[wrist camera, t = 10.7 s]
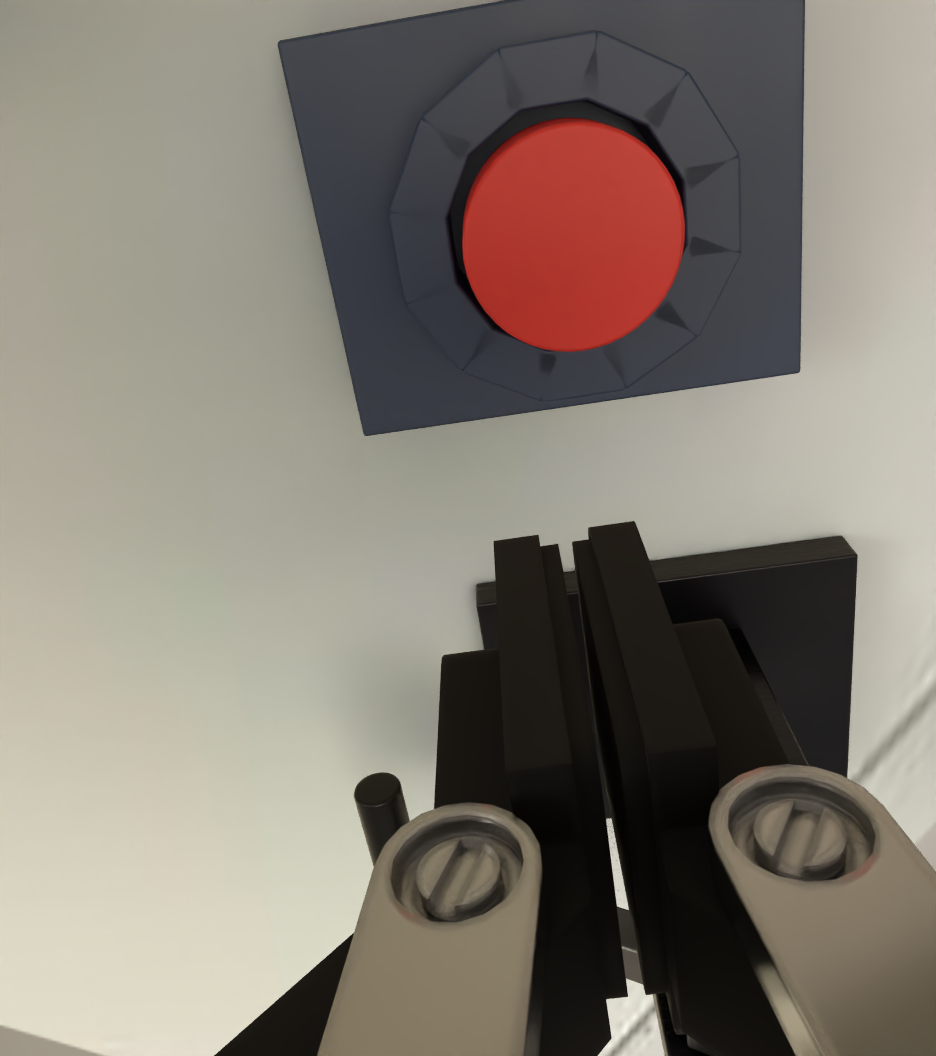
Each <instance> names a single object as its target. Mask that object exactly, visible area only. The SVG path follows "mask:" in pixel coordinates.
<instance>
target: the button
mask: <svg viewBox="0 0 936 1056" xmlns="http://www.w3.org/2000/svg"><path fill="white" fill-rule="evenodd" d="M684 241H685V222H684V213H683V207H682V203H681V199H680V195H679V193H678V190H677V187H676V185H675V182H674V180H673V179H672V177H671V175H670V173H669V171H668V170H667V168H666V167H665V165H664V164H663V163H662V161H661V160H660V159H659V157H658V156H657V155H656V154H655V153H654V152H653V151H652V150H651V149H650V148H649V147H648V146H647V145H645V144H644V143H642V142H641V141H640V140H638V139H637V138H636V137H634V136H632V135H630V134H628V133H626V132H625V131H623V130H621V129H618V128H615V127H612V126H610V125H607V124H604V123H601V122H598V121H595V120H590V119H584V118H558V119H552V120H548V121H544V122H540V123H537V124H535V125H532V126H530V127H527V128H525V129H523V130H522V131H520V132H518V133H516V134H515V135H513V136H512V137H511V138H509V139H508V140H507V141H505V142H504V143H503V144H502V145H501V146H499V147H498V148H497V149H496V150H495V151H494V152H493V153H492V155H491V156H490V157H489V158H488V160H487V161H486V162H485V163H484V165H483V166H482V168H481V170H480V171H479V173H478V175H477V176H476V178H475V180H474V182H473V185H472V187H471V189H470V192H469V195H468V199H467V202H466V206H465V212H464V218H463V238H462V249H463V260H464V265H465V269H466V274H467V277H468V280H469V283H470V285H471V288H472V290H473V292H474V294H475V296H476V298H477V300H478V302H479V303H480V305H481V306H482V307H483V309H484V310H485V312H486V313H487V314H488V315H489V316H490V317H491V319H492V320H493V321H494V322H495V323H496V324H497V325H499V326H500V327H501V328H502V329H503V330H504V331H506V332H507V333H509V334H510V335H512V336H513V337H515V338H517V339H518V340H521V341H523V342H525V343H527V344H529V345H532V346H535V347H538V348H542V349H546V350H552V351H562V352H574V351H585V350H589V349H594V348H598V347H601V346H604V345H607V344H610V343H612V342H614V341H616V340H618V339H620V338H622V337H624V336H625V335H627V334H628V333H630V332H632V331H633V330H635V329H636V328H637V327H638V326H640V325H641V324H642V323H643V322H644V321H645V320H647V319H648V317H649V316H650V315H651V314H652V313H653V312H654V311H655V310H656V309H657V308H658V306H659V305H660V303H661V302H662V301H663V299H664V298H665V297H666V295H667V293H668V291H669V289H670V288H671V286H672V284H673V282H674V279H675V277H676V274H677V272H678V269H679V266H680V262H681V258H682V254H683V248H684Z"/></svg>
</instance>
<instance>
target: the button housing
mask: <svg viewBox="0 0 936 1056" xmlns="http://www.w3.org/2000/svg"><path fill="white" fill-rule="evenodd" d="M804 32H805V0H504V1H498V2H493V3H487V4H481V5H476V6H470V7H465V8H459V9H453V10H448V11H442V12H437V13H431V14H425V15H420V16H414V17H409V18H403V19H398V20H392V21H386V22H381V23H375V24H370V25H364V26H358V27H353V28H347V29H342V30H336V31H331V32H325V33H319V34H314V35H308V36H303V37H297V38H291V39H286V40H280V41H279V42H278V49H279V53H280V58H281V62H282V67H283V71H284V76H285V80H286V85H287V89H288V94H289V98H290V103H291V107H292V112H293V117H294V121H295V126H296V130H297V135H298V139H299V144H300V148H301V153H302V157H303V162H304V166H305V171H306V175H307V180H308V184H309V189H310V193H311V198H312V203H313V207H314V212H315V216H316V221H317V225H318V230H319V234H320V239H321V243H322V248H323V252H324V257H325V261H326V266H327V270H328V275H329V279H330V284H331V289H332V293H333V298H334V302H335V307H336V311H337V316H338V320H339V325H340V329H341V334H342V338H343V343H344V347H345V352H346V356H347V361H348V365H349V370H350V375H351V379H352V384H353V388H354V393H355V397H356V402H357V406H358V411H359V415H360V420H361V424H362V429H363V433H364V435H365V436H370V435H377V434H384V433H391V432H398V431H405V430H411V429H418V428H425V427H432V426H439V425H446V424H453V423H459V422H466V421H473V420H480V419H487V418H494V417H500V416H507V415H514V414H521V413H528V412H535V411H541V410H548V409H555V408H562V407H569V406H576V405H583V404H589V403H596V402H603V401H610V400H617V399H624V398H630V397H637V396H644V395H651V394H658V393H665V392H671V391H678V390H685V389H692V388H699V387H706V386H713V385H719V384H726V383H733V382H740V381H747V380H754V379H760V378H767V377H774V376H781V375H788V374H795V373H799V372H800V352H801V272H802V192H803V112H804ZM558 118H584V119H590V120H595V121H598V122H601V123H604V124H607V125H610V126H612V127H615V128H618V129H621V130H623V131H625V132H626V133H628V134H630V135H632V136H634V137H636V138H637V139H638V140H640V141H641V142H642V143H644V144H645V145H647V146H648V147H649V148H650V149H651V150H652V151H653V152H654V153H655V154H656V155H657V156H658V157H659V159H660V160H661V161H662V163H663V164H664V165H665V167H666V168H667V170H668V171H669V173H670V175H671V177H672V179H673V180H674V182H675V185H676V187H677V190H678V193H679V195H680V199H681V203H682V207H683V213H684V222H685V241H684V248H683V254H682V258H681V262H680V266H679V269H678V272H677V274H676V277H675V279H674V282H673V284H672V286H671V288H670V289H669V291H668V293H667V295H666V297H665V298H664V299H663V301H662V302H661V303H660V305H659V306H658V308H657V309H656V310H655V311H654V312H653V313H652V314H651V315H650V316H649V317H648V319H647V320H645V321H644V322H643V323H642V324H641V325H640V326H638V327H637V328H636V329H635V330H633V331H632V332H630V333H628V334H627V335H625V336H624V337H622V338H620V339H618V340H616V341H614V342H612V343H610V344H607V345H604V346H601V347H598V348H594V349H589V350H585V351H574V352H562V351H552V350H546V349H542V348H538V347H535V346H532V345H529V344H527V343H525V342H523V341H521V340H518V339H517V338H515V337H513V336H512V335H510V334H509V333H507V332H506V331H504V330H503V329H502V328H501V327H500V326H499V325H497V324H496V323H495V322H494V321H493V320H492V319H491V317H490V316H489V315H488V314H487V313H486V312H485V310H484V309H483V307H482V306H481V305H480V303H479V302H478V300H477V298H476V296H475V294H474V292H473V290H472V288H471V285H470V283H469V280H468V277H467V274H466V269H465V265H464V260H463V249H462V238H463V218H464V212H465V206H466V202H467V199H468V195H469V192H470V189H471V187H472V185H473V182H474V180H475V178H476V176H477V175H478V173H479V171H480V170H481V168H482V166H483V165H484V163H485V162H486V161H487V160H488V158H489V157H490V156H491V155H492V153H493V152H494V151H495V150H496V149H497V148H498V147H499V146H501V145H502V144H503V143H504V142H505V141H507V140H508V139H509V138H511V137H512V136H513V135H515V134H516V133H518V132H520V131H522V130H523V129H525V128H527V127H530V126H532V125H535V124H537V123H540V122H544V121H548V120H552V119H558Z"/></svg>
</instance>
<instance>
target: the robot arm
mask: <svg viewBox="0 0 936 1056" xmlns="http://www.w3.org/2000/svg"><path fill="white" fill-rule="evenodd" d="M588 535H589V540H582V541H575V542H572V545H573V554H574V563H575V571H576V579H577V587H578V595H579V603H580V611H581V619H582V627H583V635H584V643H585V651H586V659H587V667H588V675H589V683H590V691H591V699H592V707H593V715H594V723H595V730H596V736H597V743H598V748H599V754H600V759H601V764H602V770H603V775H604V780H605V785H606V791H607V796H608V801H609V806H610V812H611V817H612V822H613V828H614V833H615V838H616V843H617V849H618V854H619V859H620V864H621V870H622V875H623V880H624V886H625V891H626V896H627V901H628V907H629V912H630V917H631V922H632V928H633V933H634V938H635V943H636V949H637V954H638V959H639V965H640V970H641V975H642V980H643V985H644V990H645V994H646V995H650V994H660V993H666V994H667V999H668V1004H669V1008H670V1013H671V1018H672V1022H673V1027H674V1029H682V1032H684V1033H685V1034H687V1035H688V1036H690V1037H691V1038H692V1039H694V1040H695V1041H697V1042H698V1043H700V1044H701V1045H702V1046H704V1047H705V1048H707V1049H708V1050H710V1051H711V1052H712V1053H714V1054H715V1055H717V1056H936V871H935V870H934V869H933V868H932V866H931V865H930V864H929V863H928V861H927V860H926V859H925V857H924V856H923V855H922V854H921V852H920V851H919V850H918V849H917V847H916V846H915V845H914V844H913V842H912V841H911V840H910V839H909V837H908V836H907V835H906V834H905V832H904V831H903V830H902V829H901V827H900V826H899V825H898V823H897V822H896V821H895V820H894V818H893V817H892V816H891V815H890V813H889V812H888V811H887V810H886V808H885V807H884V806H883V805H882V804H881V803H880V802H879V801H878V800H877V799H876V798H875V797H874V796H873V795H871V794H870V793H869V792H868V791H867V790H866V789H865V788H864V787H862V786H860V785H858V784H856V783H855V782H853V781H851V780H849V779H847V778H846V777H844V776H842V775H840V774H837V773H833V772H830V771H827V770H824V769H820V768H817V767H813V766H802V765H792V764H789V761H788V759H787V757H786V755H785V753H784V751H783V748H782V746H781V744H780V742H779V740H778V738H777V735H776V733H775V731H774V729H773V727H772V725H771V722H770V720H769V718H768V716H767V714H766V712H765V710H764V707H763V705H762V703H761V701H760V699H759V697H758V694H757V692H756V690H755V688H754V686H753V684H752V681H751V679H750V677H749V675H748V673H747V671H746V668H745V666H744V664H743V662H742V660H741V658H740V655H739V653H738V651H737V649H736V647H735V645H734V643H733V640H732V638H731V636H730V634H729V632H728V630H727V627H726V626H725V624H724V622H723V621H722V620H721V619H719V618H718V619H711V620H703V621H696V622H688V623H681V624H672V621H671V618H670V616H669V613H668V610H667V608H666V605H665V602H664V599H663V597H662V594H661V591H660V589H659V586H658V583H657V580H656V578H655V575H654V572H653V569H652V567H651V564H650V561H649V559H648V556H647V553H646V550H645V548H644V545H643V542H642V540H641V537H640V534H639V531H638V529H637V526H636V524H635V522H634V521H631V522H624V523H617V524H610V525H603V526H596V527H589V528H588ZM494 557H495V577H496V597H497V618H498V638H499V648H494V649H486V650H479V651H471V652H464V653H456V654H449V655H444V656H443V657H442V664H441V681H440V701H439V722H438V742H437V762H436V783H435V803H434V809H433V810H431V811H428V812H425V813H422V814H420V815H419V816H417V817H416V818H414V819H413V820H411V821H410V822H408V823H407V824H405V825H403V826H402V827H401V828H400V829H399V830H398V831H397V832H396V833H395V834H394V835H393V836H392V837H391V838H390V839H389V840H388V842H387V843H386V844H385V845H384V847H383V849H382V851H381V853H380V855H379V857H378V859H377V861H376V863H375V865H374V869H373V872H372V875H371V879H370V882H369V885H368V889H367V892H366V895H365V899H364V902H363V905H362V909H361V912H360V915H359V918H358V922H357V925H356V928H355V932H354V933H353V934H352V935H351V936H350V937H349V938H347V939H346V940H345V941H344V942H343V943H342V944H341V945H339V946H338V947H337V948H336V949H335V950H334V951H333V952H332V953H330V954H329V955H328V956H327V957H326V958H325V959H324V960H322V961H321V962H320V963H319V964H318V965H317V966H316V967H314V968H313V969H312V970H311V971H310V972H309V973H308V974H307V975H305V976H304V977H303V978H302V979H301V980H300V981H299V982H297V983H296V984H295V985H294V986H293V987H292V988H291V989H289V990H288V991H287V992H286V993H285V994H284V995H283V996H282V997H280V998H279V999H278V1000H277V1001H276V1002H275V1003H274V1004H272V1005H271V1006H270V1007H269V1008H268V1009H267V1010H266V1011H264V1012H263V1013H262V1014H261V1015H260V1016H259V1017H258V1018H257V1019H255V1020H254V1021H253V1022H252V1023H251V1024H250V1025H249V1026H247V1027H246V1028H245V1029H244V1030H243V1031H242V1032H241V1033H239V1034H238V1035H237V1036H236V1037H235V1038H234V1039H233V1040H232V1041H230V1042H229V1043H228V1044H227V1045H226V1046H225V1047H224V1048H222V1049H221V1050H220V1051H219V1052H218V1053H217V1054H216V1055H214V1056H598V1054H599V1053H600V1052H601V1051H602V1049H603V1048H604V1047H605V1046H606V1044H607V1043H608V1042H609V1041H610V1040H611V1031H610V1024H609V1017H608V1010H607V1003H606V999H611V998H621V997H628V993H627V985H626V977H625V969H624V961H623V953H622V945H621V937H620V929H619V921H618V913H617V905H616V897H615V889H614V881H613V873H612V865H611V857H610V849H609V841H608V833H607V825H606V817H605V809H604V801H603V793H602V785H601V778H600V771H599V764H598V758H597V751H596V745H595V740H594V734H593V729H592V723H591V718H590V713H589V707H588V702H587V697H586V691H585V686H584V680H583V675H582V670H581V664H580V659H579V654H578V648H577V643H576V638H575V632H574V627H573V621H572V616H571V611H570V605H569V600H568V595H567V589H566V584H565V579H564V573H563V568H562V562H561V557H560V552H559V546H558V544H554V545H547V546H540V542H539V535H533V536H526V537H519V538H512V539H505V540H498V541H494Z"/></svg>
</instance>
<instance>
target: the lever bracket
mask: <svg viewBox="0 0 936 1056" xmlns="http://www.w3.org/2000/svg"><path fill="white" fill-rule="evenodd" d="M857 556H858V555H857V554H856V553H855V551H854V550H853V549H852V548H851V546H850V545H849V544H848V543H847V541H846V540H845V539H844V538H843V537H842V536H840V537H832V538H825V539H817V540H810V541H802V542H795V543H787V544H780V545H772V546H765V547H757V548H750V549H742V550H735V551H727V552H720V553H712V554H705V555H697V556H690V557H682V558H675V559H667V560H660V561H652V562H650V564H651V567H652V569H653V572H654V575H655V578H656V580H657V583H658V586H659V589H660V591H661V594H662V597H663V599H664V602H665V605H666V608H667V610H668V613H669V616H670V618H671V621H672V624H681V623H688V622H696V621H703V620H711V619H718V618H719V619H721V620H722V621H723V622H724V624H725V626H726V627H727V630H728V632H729V634H730V636H731V638H732V640H733V643H734V645H735V647H736V649H737V651H738V653H739V655H740V658H741V660H742V662H743V664H744V666H745V668H746V671H747V673H748V675H749V677H750V679H751V681H752V684H753V686H754V688H755V690H756V692H757V694H758V697H759V699H760V701H761V703H762V705H763V707H764V710H765V712H766V714H767V716H768V718H769V720H770V722H771V725H772V727H773V729H774V731H775V733H776V735H777V738H778V740H779V742H780V744H781V746H782V748H783V751H784V753H785V755H786V757H787V759H788V761H789V764H792V765H802V766H813V767H817V768H820V769H824V770H827V771H830V772H833V773H837V774H840V775H842V776H844V777H846V778H847V770H848V749H849V727H850V706H851V684H852V663H853V641H854V620H855V598H856V577H857ZM564 579H565V584H566V589H567V595H568V600H569V605H570V611H571V616H572V621H573V627H574V632H575V638H576V643H577V648H578V654H579V659H580V664H581V670H582V675H583V680H584V686H585V691H586V697H587V702H588V707H589V713H590V718H591V723H592V729H593V734H594V740H595V745H596V751H597V758H598V764H599V771H600V778H601V785H602V793H603V801H604V809H605V817H606V819H607V818H612V817H611V812H610V806H609V801H608V796H607V791H606V785H605V780H604V775H603V770H602V764H601V759H600V754H599V748H598V743H597V736H596V730H595V723H594V715H593V707H592V699H591V691H590V683H589V675H588V667H587V659H586V651H585V643H584V635H583V627H582V619H581V611H580V603H579V595H578V587H577V579H576V572H569V573H564ZM476 606H477V611H478V617H479V623H480V628H481V634H482V640H483V645H484V650H486V649H494V648H499V638H498V618H497V597H496V582H494V583H487V584H479V585H477V586H476ZM653 998H654V1003H655V1008H656V1013H657V1018H658V1023H659V1029H660V1034H661V1039H662V1044H663V1049H664V1054H665V1056H710V1055H708V1054H705V1053H703V1052H700V1051H697V1050H695V1049H692V1048H690V1047H689V1046H688V1044H687V1034H685V1033H684V1032H682V1029H674V1027H673V1022H672V1018H671V1013H670V1008H669V1004H668V999H667V994H666V993H660V994H653Z"/></svg>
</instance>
